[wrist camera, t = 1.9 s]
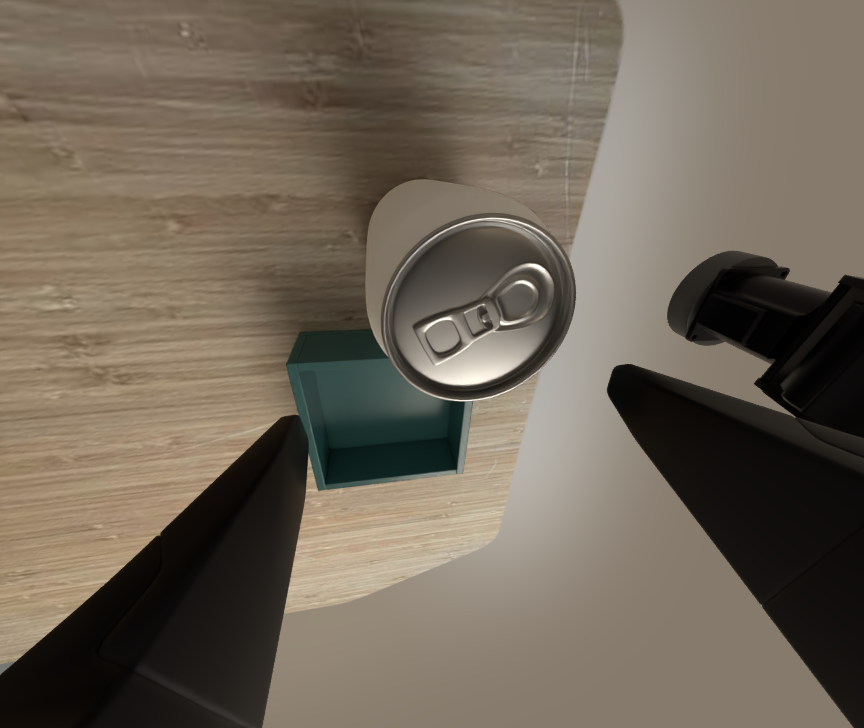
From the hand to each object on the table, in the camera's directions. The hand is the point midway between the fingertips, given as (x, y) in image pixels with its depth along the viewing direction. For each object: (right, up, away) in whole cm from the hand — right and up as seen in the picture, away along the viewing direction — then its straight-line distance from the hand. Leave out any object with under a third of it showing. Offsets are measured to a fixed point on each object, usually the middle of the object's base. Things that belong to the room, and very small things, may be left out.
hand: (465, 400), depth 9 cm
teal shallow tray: (-4, -1, +16) cm, 16 cm away
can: (-2, +9, +10) cm, 13 cm away
